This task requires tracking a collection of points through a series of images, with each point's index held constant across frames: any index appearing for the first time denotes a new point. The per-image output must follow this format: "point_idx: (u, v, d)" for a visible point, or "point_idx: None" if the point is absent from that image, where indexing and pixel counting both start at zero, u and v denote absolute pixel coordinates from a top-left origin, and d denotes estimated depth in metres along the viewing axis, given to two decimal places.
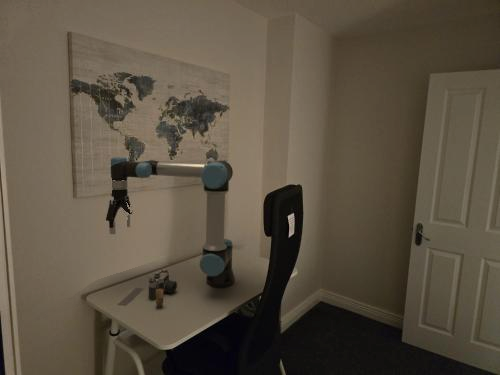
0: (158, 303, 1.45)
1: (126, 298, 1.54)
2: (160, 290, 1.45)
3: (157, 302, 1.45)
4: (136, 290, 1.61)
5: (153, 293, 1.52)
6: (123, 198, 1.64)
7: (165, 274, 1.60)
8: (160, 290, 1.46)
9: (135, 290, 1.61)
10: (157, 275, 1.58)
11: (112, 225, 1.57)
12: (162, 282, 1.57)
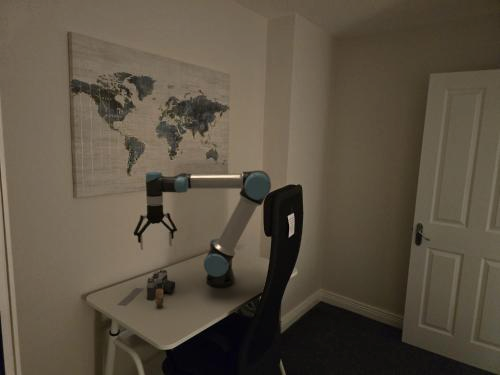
0: (158, 303, 1.45)
1: (126, 298, 1.54)
2: (160, 290, 1.45)
3: (157, 302, 1.45)
4: (136, 290, 1.61)
5: (151, 293, 1.52)
6: (159, 215, 1.58)
7: (163, 274, 1.60)
8: (160, 290, 1.46)
9: (135, 290, 1.61)
10: (155, 275, 1.58)
11: (139, 240, 1.56)
12: (160, 282, 1.57)
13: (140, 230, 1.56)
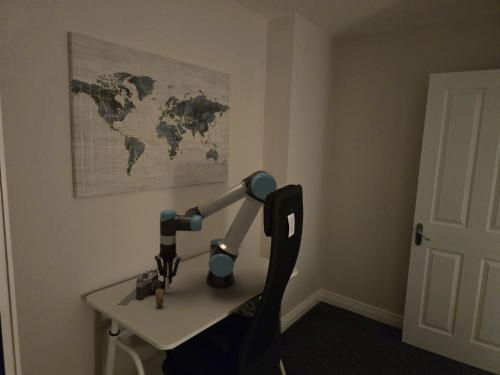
0: (158, 303, 1.45)
1: (126, 298, 1.54)
2: (160, 290, 1.45)
3: (157, 302, 1.45)
4: None
5: (140, 293, 1.52)
6: (171, 253, 1.55)
7: (153, 274, 1.59)
8: (160, 290, 1.46)
9: (135, 290, 1.61)
10: (145, 275, 1.58)
11: (164, 281, 1.58)
12: (150, 282, 1.57)
13: None
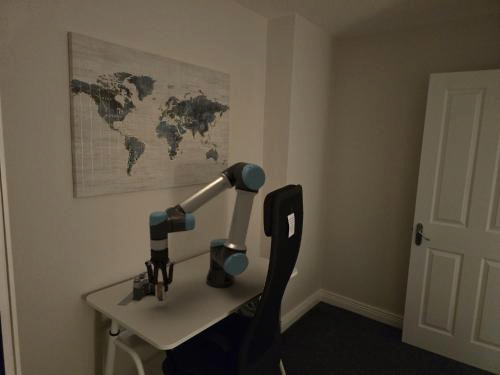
0: (159, 296, 1.45)
1: (126, 298, 1.54)
2: (161, 283, 1.45)
3: (158, 295, 1.45)
4: None
5: (137, 293, 1.51)
6: (163, 258, 1.42)
7: None
8: (161, 283, 1.45)
9: None
10: (142, 275, 1.57)
11: (154, 288, 1.46)
12: (147, 282, 1.56)
13: None
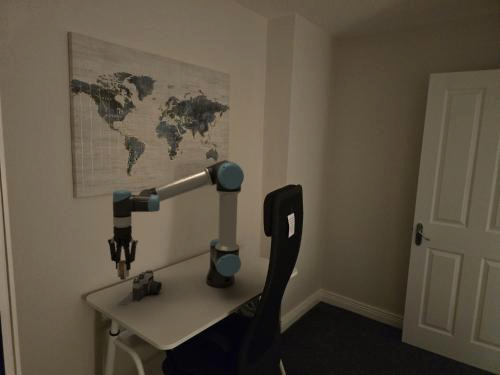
0: (121, 274, 1.46)
1: (126, 298, 1.54)
2: (123, 261, 1.46)
3: (120, 273, 1.46)
4: None
5: (137, 294, 1.51)
6: (126, 236, 1.43)
7: (149, 275, 1.58)
8: (124, 261, 1.46)
9: None
10: (141, 276, 1.56)
11: (117, 266, 1.46)
12: (146, 283, 1.56)
13: None
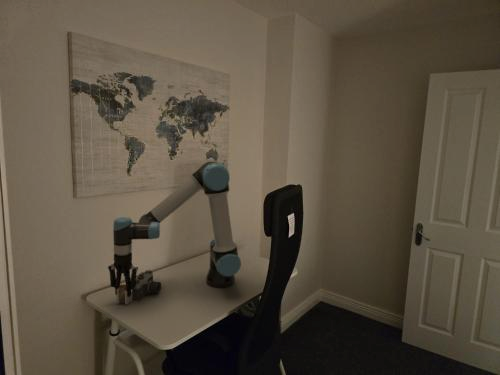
0: (121, 299, 1.47)
1: None
2: (123, 286, 1.48)
3: (120, 298, 1.47)
4: None
5: (137, 294, 1.51)
6: (126, 263, 1.45)
7: (149, 275, 1.58)
8: (124, 286, 1.48)
9: None
10: (141, 276, 1.56)
11: (116, 292, 1.48)
12: (146, 283, 1.55)
13: None
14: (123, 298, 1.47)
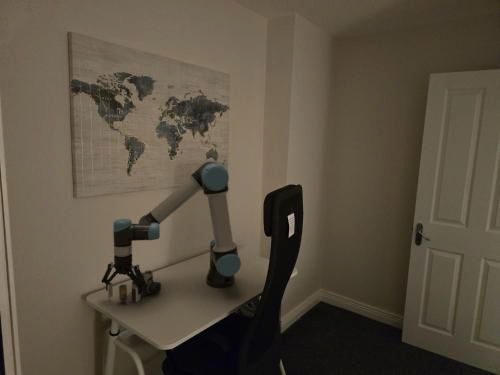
0: (121, 299, 1.47)
1: None
2: (123, 286, 1.48)
3: (120, 298, 1.47)
4: None
5: None
6: (125, 266, 1.45)
7: (149, 275, 1.58)
8: (124, 286, 1.48)
9: None
10: None
11: None
12: (146, 283, 1.55)
13: None
14: (123, 298, 1.47)
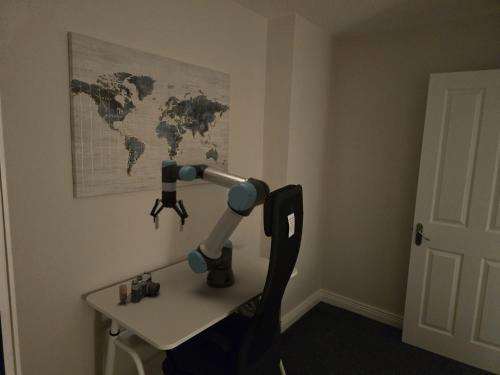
0: (121, 299, 1.47)
1: None
2: (123, 286, 1.48)
3: (120, 298, 1.47)
4: None
5: (136, 295, 1.49)
6: (171, 200, 1.70)
7: (148, 276, 1.57)
8: (124, 286, 1.48)
9: None
10: (139, 277, 1.55)
11: (154, 220, 1.73)
12: (145, 284, 1.54)
13: (156, 212, 1.74)
14: (123, 298, 1.47)
